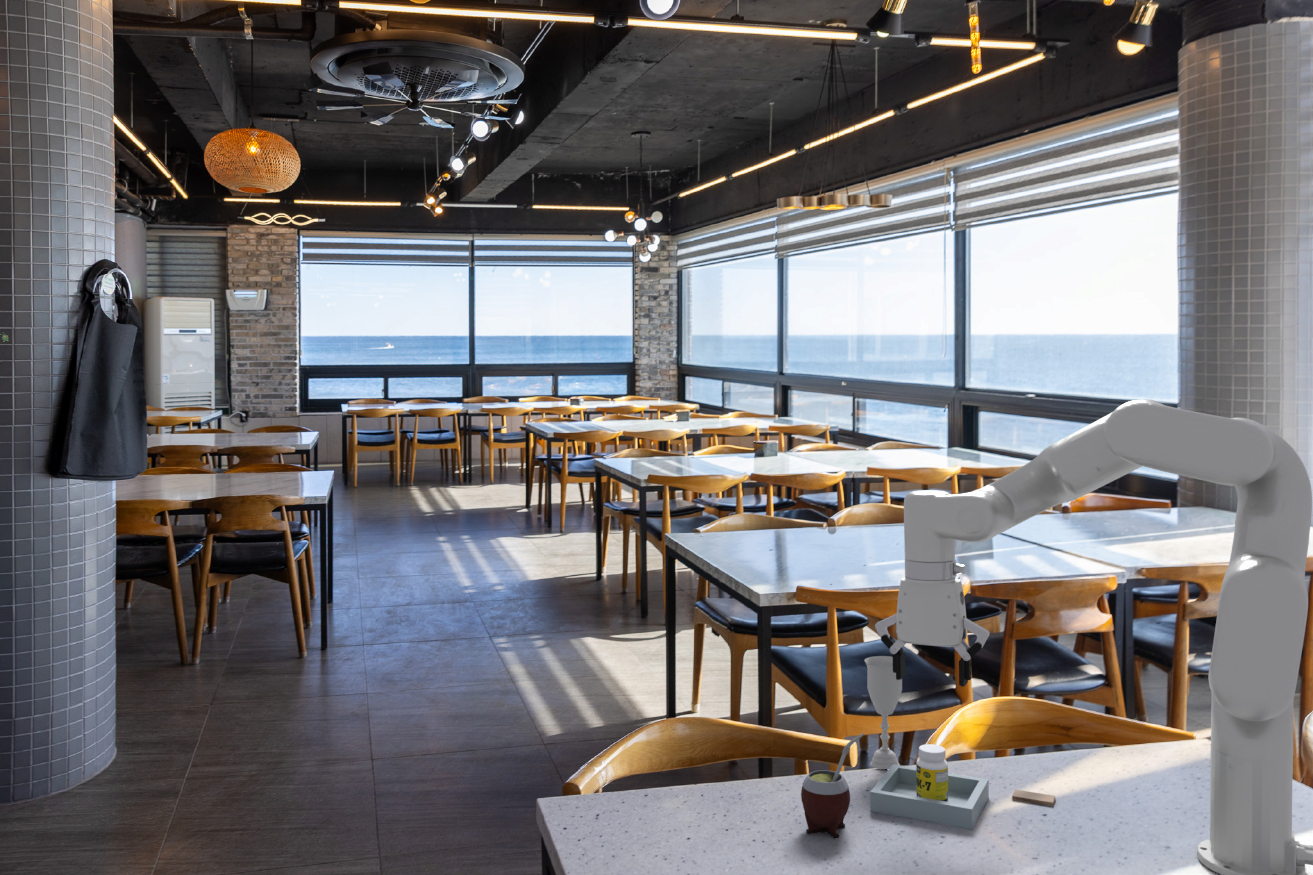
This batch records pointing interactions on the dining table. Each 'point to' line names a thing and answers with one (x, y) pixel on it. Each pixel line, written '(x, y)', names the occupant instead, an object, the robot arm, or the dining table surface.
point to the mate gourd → (826, 798)
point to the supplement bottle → (932, 773)
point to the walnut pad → (1033, 797)
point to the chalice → (883, 703)
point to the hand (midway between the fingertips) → (931, 680)
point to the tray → (901, 799)
